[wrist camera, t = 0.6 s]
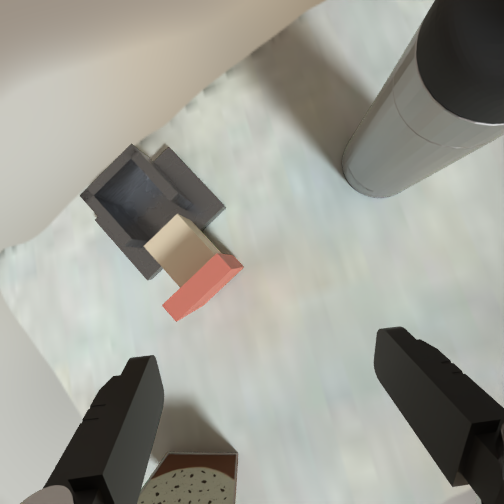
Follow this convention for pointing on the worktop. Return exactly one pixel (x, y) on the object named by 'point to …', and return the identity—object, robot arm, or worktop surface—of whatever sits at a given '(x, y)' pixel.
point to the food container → (192, 479)
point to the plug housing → (148, 202)
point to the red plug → (190, 265)
